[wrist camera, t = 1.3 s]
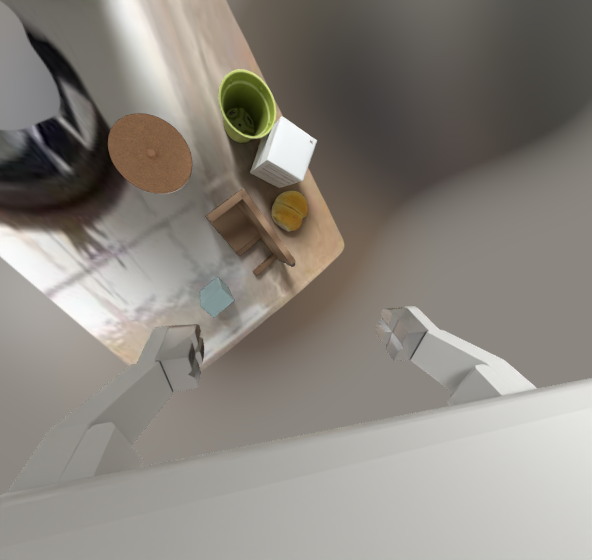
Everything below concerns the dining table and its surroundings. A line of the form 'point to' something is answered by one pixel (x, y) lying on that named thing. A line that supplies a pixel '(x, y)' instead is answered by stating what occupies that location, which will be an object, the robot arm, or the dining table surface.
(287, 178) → the supplement box
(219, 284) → the pale teal box
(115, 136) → the lidded jar
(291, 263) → the carcass
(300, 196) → the bread roll
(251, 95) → the plant pot
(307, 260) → the dining table surface
